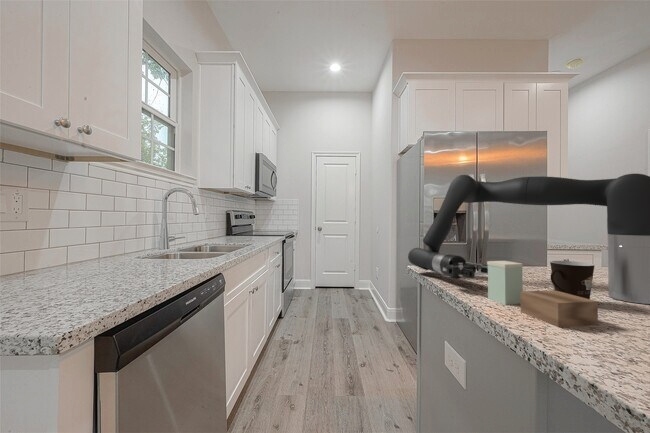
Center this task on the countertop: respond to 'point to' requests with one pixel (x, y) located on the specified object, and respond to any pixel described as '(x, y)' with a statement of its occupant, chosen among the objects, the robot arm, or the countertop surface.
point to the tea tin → (505, 282)
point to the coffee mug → (572, 277)
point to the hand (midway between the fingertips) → (486, 273)
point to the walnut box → (559, 308)
